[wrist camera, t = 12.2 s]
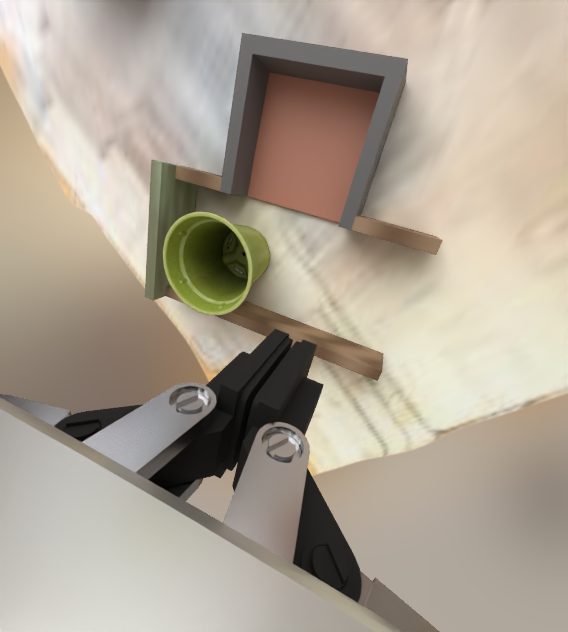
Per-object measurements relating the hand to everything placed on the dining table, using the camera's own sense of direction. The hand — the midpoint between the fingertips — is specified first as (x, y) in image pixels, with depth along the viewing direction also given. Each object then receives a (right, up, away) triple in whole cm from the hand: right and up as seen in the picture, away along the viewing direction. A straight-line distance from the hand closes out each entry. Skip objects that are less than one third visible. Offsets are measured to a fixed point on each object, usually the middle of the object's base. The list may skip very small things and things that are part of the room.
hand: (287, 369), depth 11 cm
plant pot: (-4, +9, +23) cm, 26 cm away
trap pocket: (+2, +18, +18) cm, 25 cm away
